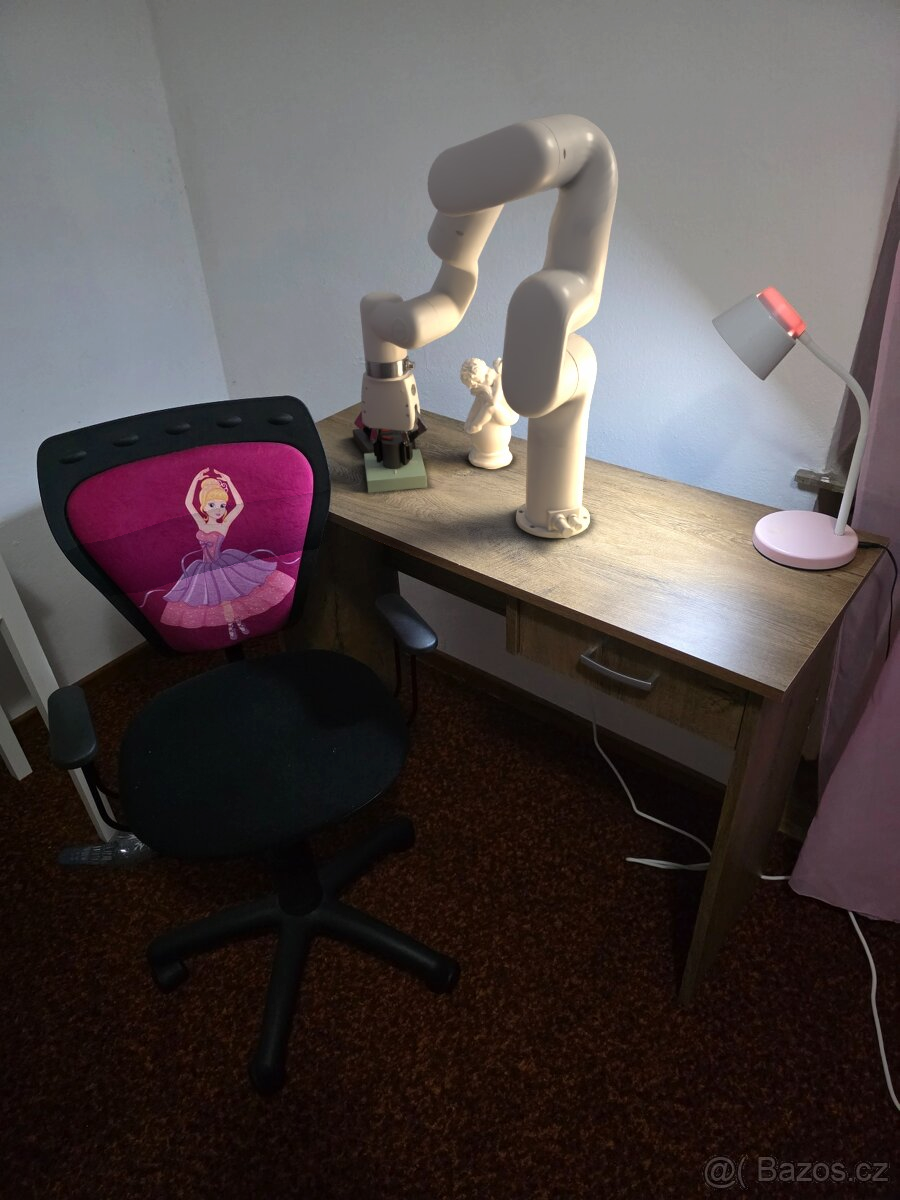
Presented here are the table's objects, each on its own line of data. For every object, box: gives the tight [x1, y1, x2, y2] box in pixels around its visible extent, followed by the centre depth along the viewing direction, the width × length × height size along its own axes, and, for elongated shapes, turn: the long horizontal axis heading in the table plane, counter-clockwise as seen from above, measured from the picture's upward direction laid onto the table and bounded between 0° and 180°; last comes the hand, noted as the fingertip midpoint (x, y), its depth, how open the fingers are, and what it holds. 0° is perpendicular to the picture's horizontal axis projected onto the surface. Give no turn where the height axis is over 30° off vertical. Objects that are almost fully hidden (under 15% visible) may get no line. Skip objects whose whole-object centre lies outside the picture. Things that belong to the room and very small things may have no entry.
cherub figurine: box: [459, 356, 520, 470], centre depth 154 cm, size 12×12×22 cm
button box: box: [352, 427, 416, 455], centre depth 165 cm, size 11×10×4 cm
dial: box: [381, 435, 405, 469], centre depth 151 cm, size 4×4×5 cm
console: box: [363, 448, 428, 493], centre depth 153 cm, size 12×11×3 cm
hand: (393, 460), depth 152 cm, fingers closed on dial, 4 cm apart
